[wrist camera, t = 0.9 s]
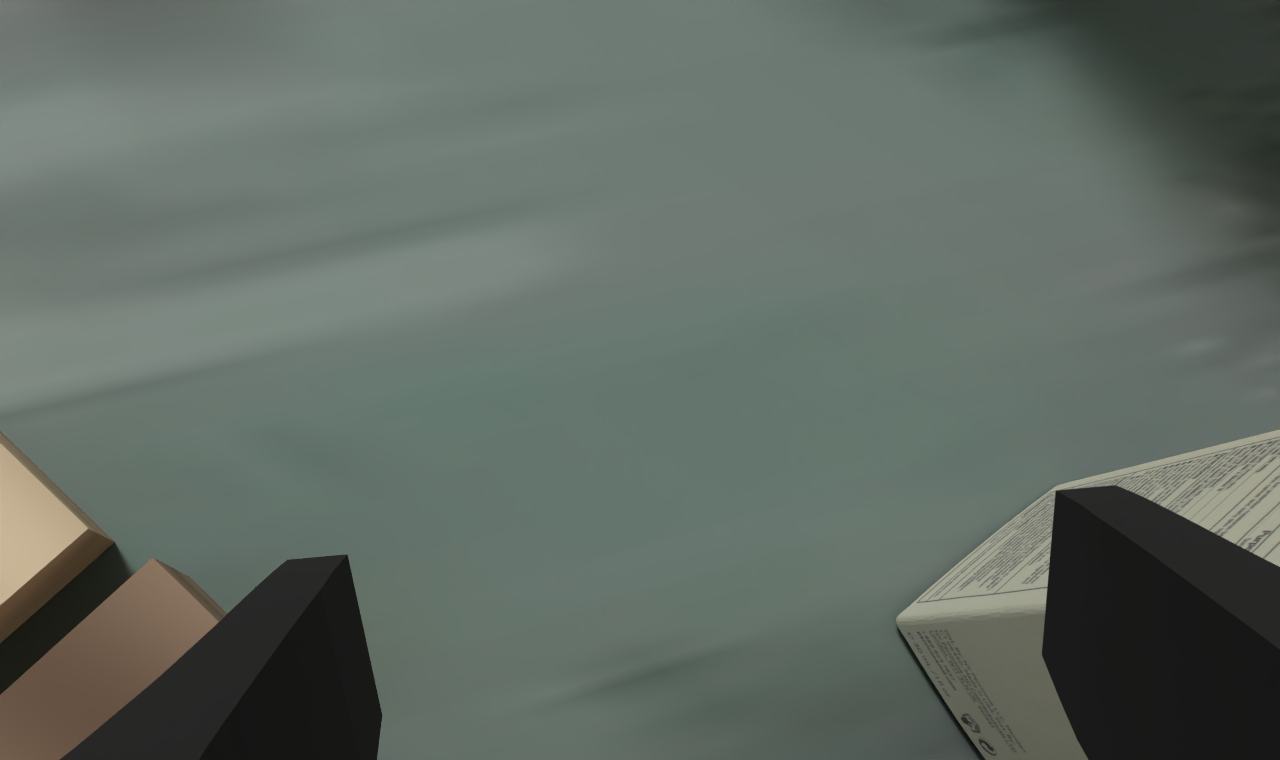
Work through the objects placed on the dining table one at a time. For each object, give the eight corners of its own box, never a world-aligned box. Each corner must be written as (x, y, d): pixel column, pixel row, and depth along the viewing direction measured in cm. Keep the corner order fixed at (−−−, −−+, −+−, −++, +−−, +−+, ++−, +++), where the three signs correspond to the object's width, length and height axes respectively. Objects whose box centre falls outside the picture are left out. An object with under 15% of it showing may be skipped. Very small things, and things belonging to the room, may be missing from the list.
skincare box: (988, 776, 26) (1513, 875, 14) (883, 617, 26) (1318, 589, 15) (1165, 617, 28) (1741, 593, 17) (1067, 471, 28) (1569, 349, 17)
